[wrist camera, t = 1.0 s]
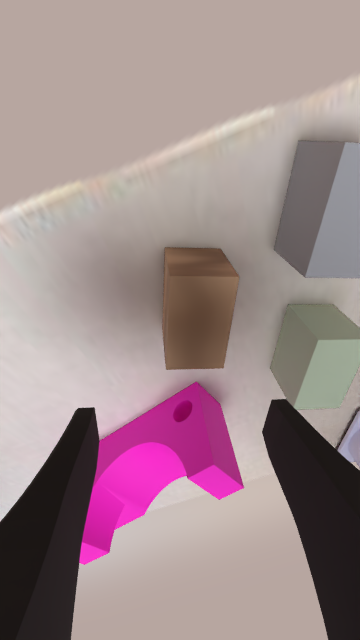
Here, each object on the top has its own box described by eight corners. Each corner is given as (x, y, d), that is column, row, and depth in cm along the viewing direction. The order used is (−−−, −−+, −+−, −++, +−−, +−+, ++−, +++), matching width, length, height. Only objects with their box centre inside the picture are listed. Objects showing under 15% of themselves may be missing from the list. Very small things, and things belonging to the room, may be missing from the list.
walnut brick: (220, 248, 19) (239, 276, 15) (209, 327, 22) (223, 368, 18) (164, 246, 18) (169, 276, 14) (162, 328, 21) (166, 369, 18)
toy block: (114, 483, 31) (106, 572, 25) (68, 458, 28) (46, 551, 22) (234, 416, 28) (261, 501, 21) (196, 379, 25) (213, 464, 18)
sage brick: (332, 303, 22) (372, 339, 18) (309, 366, 25) (339, 407, 21) (287, 303, 21) (318, 339, 18) (269, 367, 24) (292, 409, 21)
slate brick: (358, 144, 16) (422, 147, 13) (323, 250, 19) (367, 278, 16) (297, 140, 16) (345, 142, 12) (273, 249, 19) (304, 277, 15)
